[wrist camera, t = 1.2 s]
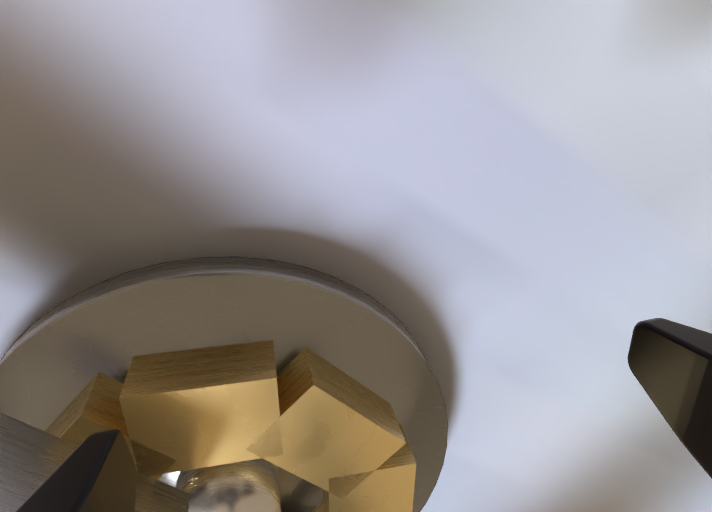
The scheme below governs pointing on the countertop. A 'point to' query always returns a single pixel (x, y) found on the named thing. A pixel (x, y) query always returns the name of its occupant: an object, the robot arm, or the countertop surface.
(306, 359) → the tan curved piece
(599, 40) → the countertop surface
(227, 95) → the countertop surface
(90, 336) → the round metal dish
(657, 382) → the robot arm
